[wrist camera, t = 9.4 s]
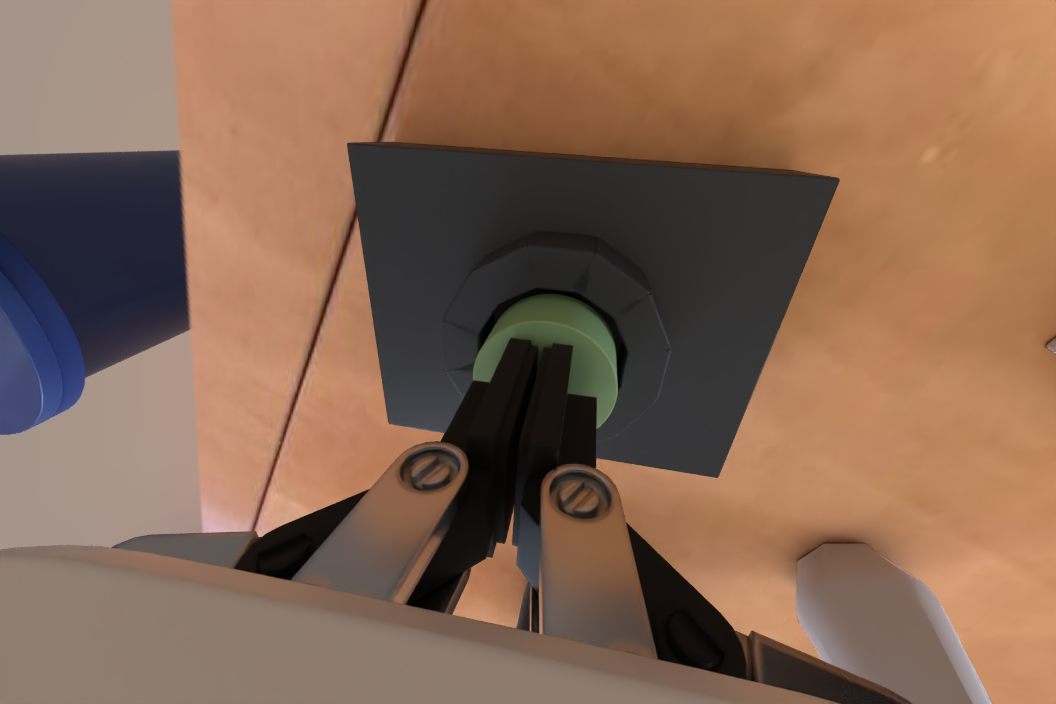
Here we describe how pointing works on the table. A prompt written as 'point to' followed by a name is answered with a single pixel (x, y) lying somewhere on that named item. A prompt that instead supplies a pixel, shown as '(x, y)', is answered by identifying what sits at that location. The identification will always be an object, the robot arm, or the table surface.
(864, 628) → the salt shaker
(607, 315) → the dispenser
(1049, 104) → the table surface
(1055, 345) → the product box
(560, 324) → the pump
